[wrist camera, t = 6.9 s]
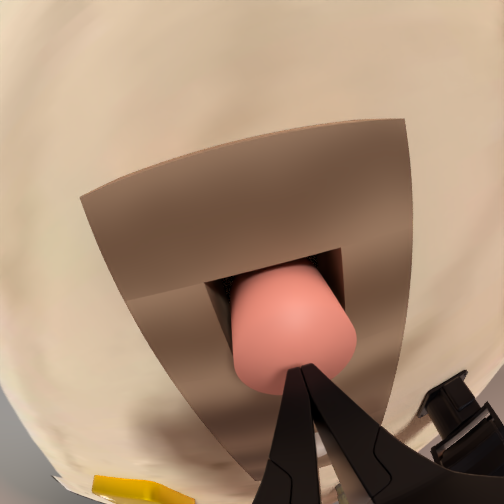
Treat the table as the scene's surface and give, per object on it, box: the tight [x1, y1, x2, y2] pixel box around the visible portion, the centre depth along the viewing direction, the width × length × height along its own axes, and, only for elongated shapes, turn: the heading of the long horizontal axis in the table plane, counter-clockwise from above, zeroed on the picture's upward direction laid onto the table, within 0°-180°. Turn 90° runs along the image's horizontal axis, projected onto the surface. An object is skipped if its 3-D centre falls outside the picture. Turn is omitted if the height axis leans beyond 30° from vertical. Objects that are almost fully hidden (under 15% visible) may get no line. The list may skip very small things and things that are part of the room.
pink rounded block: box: [230, 257, 357, 395], centre depth 11 cm, size 4×4×4 cm
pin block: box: [80, 119, 413, 481], centre depth 16 cm, size 28×12×4 cm, turn 14°
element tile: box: [92, 475, 195, 504], centre depth 30 cm, size 15×15×5 cm
